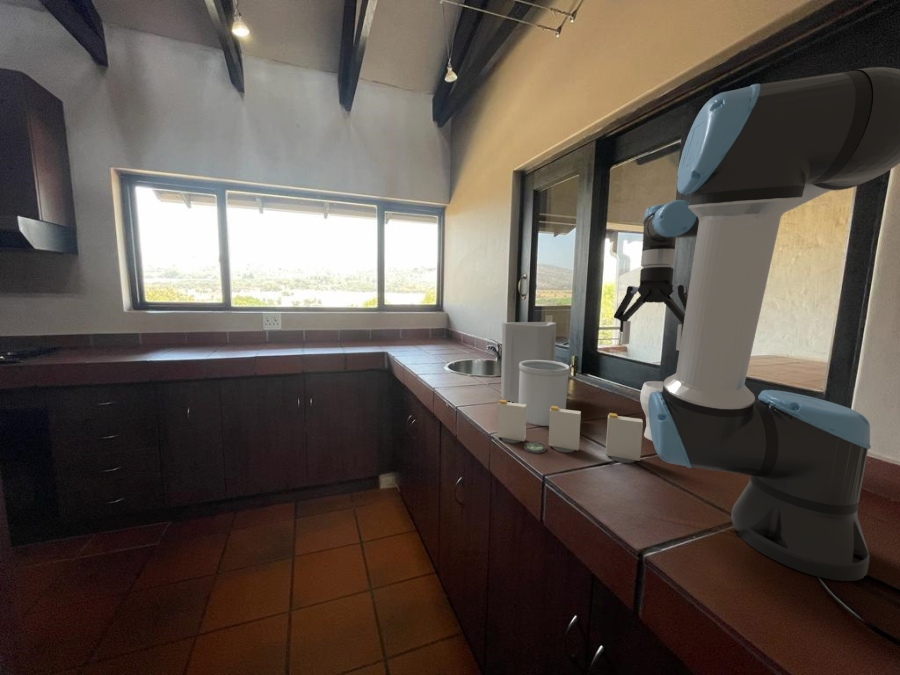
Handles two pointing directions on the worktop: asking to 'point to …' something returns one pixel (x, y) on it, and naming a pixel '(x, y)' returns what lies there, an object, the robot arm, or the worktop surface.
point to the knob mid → (564, 429)
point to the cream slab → (511, 421)
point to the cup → (644, 398)
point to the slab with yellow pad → (624, 438)
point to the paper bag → (523, 351)
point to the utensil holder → (542, 388)
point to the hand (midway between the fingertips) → (651, 346)
